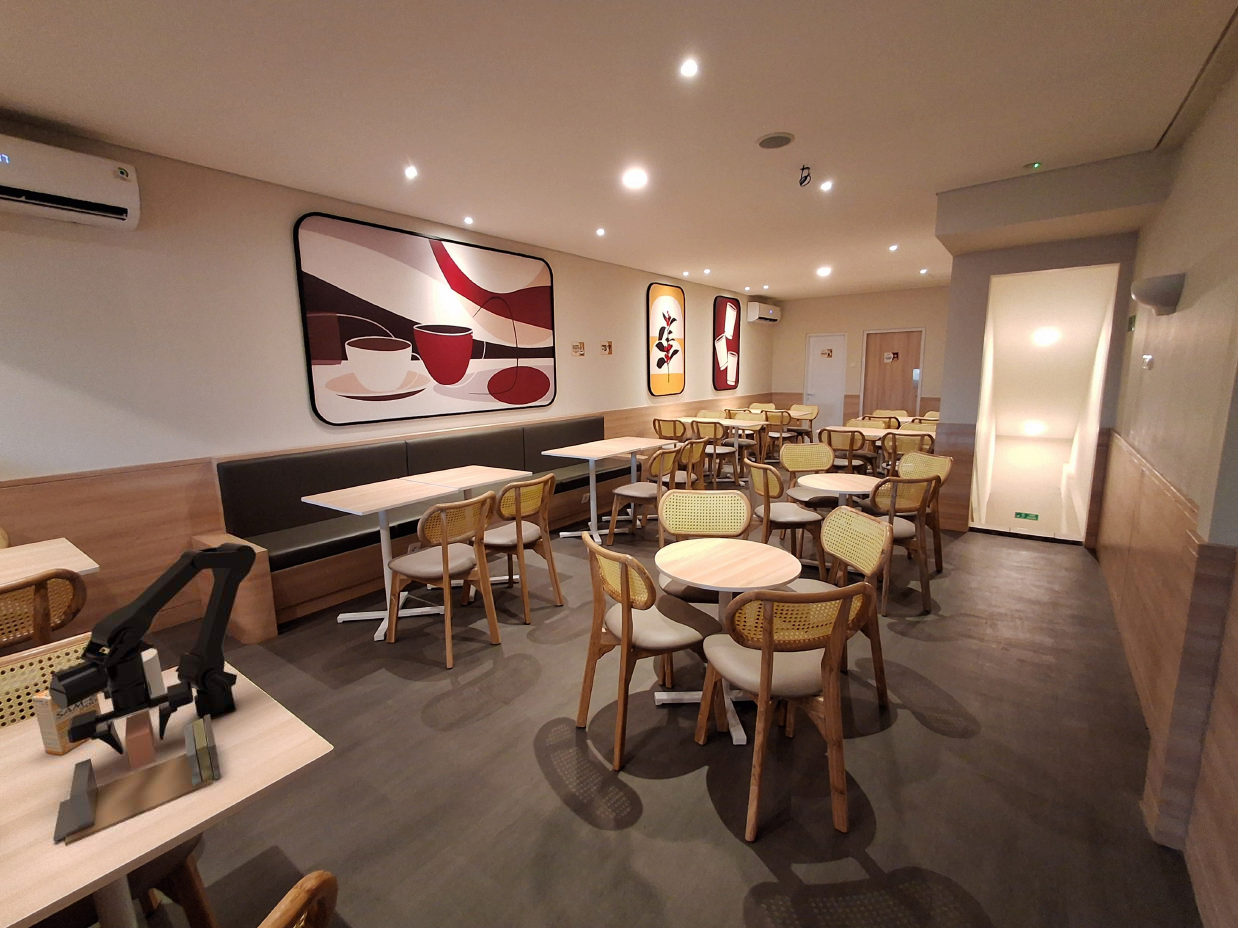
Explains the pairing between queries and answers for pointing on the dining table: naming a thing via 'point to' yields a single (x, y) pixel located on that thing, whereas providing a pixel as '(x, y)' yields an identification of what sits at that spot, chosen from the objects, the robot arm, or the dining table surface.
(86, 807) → the bookend
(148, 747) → the terracotta rectangular block
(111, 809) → the shelf
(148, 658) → the cup
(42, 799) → the dining table surface
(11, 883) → the dining table surface
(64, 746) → the supplement box
